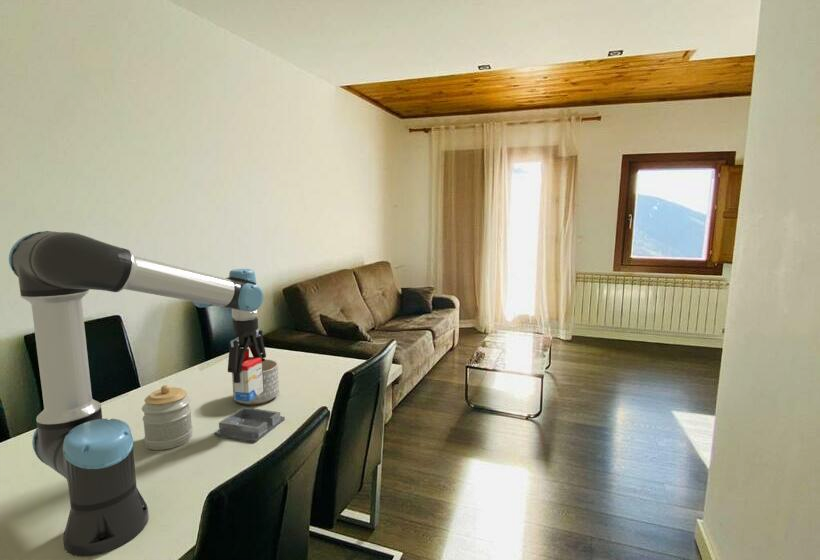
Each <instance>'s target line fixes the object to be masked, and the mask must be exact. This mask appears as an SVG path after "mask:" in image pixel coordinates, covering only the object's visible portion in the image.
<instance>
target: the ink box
mask: <svg viewBox="0 0 820 560" xmlns="http://www.w3.org/2000/svg"><path fill="white" fill-rule="evenodd" d="M237 369H238V368H237ZM241 372H243V381H244V392H243V393H242V392H235V393H236V400H238V401H251V400H252V399H253V398H255V397H256V396H258V395H259V394H260V393H262V392H263V379H262V358H258V357H253V356H250V348H247V351H246V352H245V355H244V360H243V364H242V368H241Z"/></svg>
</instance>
